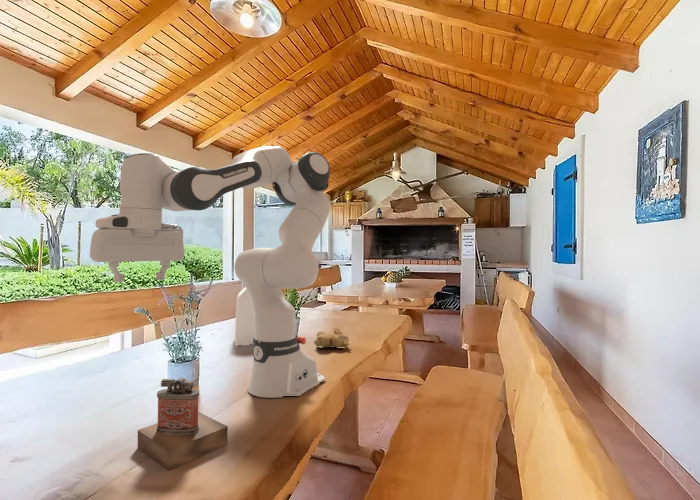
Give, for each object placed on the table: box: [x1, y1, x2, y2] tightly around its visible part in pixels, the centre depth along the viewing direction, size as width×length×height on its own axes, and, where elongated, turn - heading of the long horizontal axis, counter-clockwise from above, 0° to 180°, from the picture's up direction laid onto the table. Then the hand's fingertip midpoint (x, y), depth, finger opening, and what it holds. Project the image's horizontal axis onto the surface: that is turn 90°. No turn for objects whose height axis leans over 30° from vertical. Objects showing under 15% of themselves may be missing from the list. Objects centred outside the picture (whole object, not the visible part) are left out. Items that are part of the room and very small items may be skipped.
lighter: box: [156, 377, 200, 434], centre depth 76 cm, size 8×3×10 cm, turn 87°
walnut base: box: [137, 411, 229, 471], centre depth 77 cm, size 12×12×4 cm
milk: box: [234, 287, 255, 347], centre depth 161 cm, size 12×12×26 cm
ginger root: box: [313, 327, 350, 348], centre depth 154 cm, size 16×16×8 cm
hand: (140, 280), depth 92 cm, fingers open, 8 cm apart
